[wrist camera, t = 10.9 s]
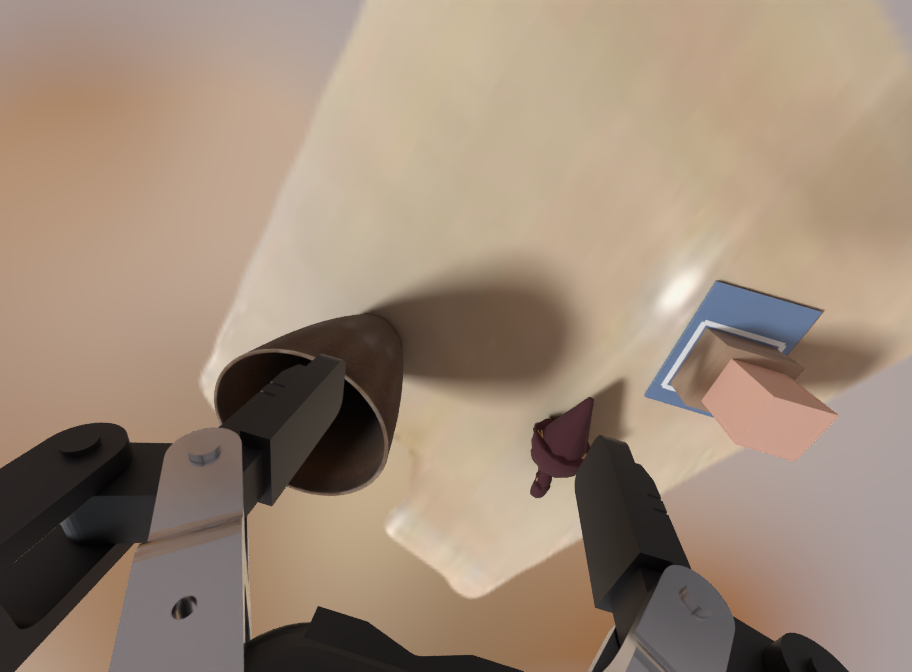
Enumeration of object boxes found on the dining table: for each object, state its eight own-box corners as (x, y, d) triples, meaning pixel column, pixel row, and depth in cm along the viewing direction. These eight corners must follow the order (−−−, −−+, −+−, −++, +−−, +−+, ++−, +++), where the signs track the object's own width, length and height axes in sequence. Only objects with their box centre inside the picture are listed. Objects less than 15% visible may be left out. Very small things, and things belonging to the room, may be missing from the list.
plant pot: (411, 410, 46) (364, 519, 32) (305, 368, 46) (210, 458, 32) (449, 313, 39) (411, 396, 25) (325, 263, 39) (215, 318, 25)
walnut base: (706, 327, 35) (727, 345, 32) (775, 347, 35) (804, 368, 31) (669, 383, 38) (685, 405, 35) (732, 402, 38) (754, 426, 35)
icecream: (551, 400, 35) (502, 488, 43) (625, 437, 33) (559, 521, 41) (563, 367, 40) (517, 449, 48) (626, 397, 39) (568, 477, 47)
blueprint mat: (716, 280, 34) (718, 282, 33) (819, 310, 33) (823, 312, 33) (644, 394, 40) (645, 397, 40) (730, 420, 40) (732, 423, 39)
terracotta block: (731, 358, 32) (774, 397, 27) (785, 374, 32) (839, 415, 27) (701, 401, 34) (735, 444, 29) (751, 415, 34) (794, 461, 29)
